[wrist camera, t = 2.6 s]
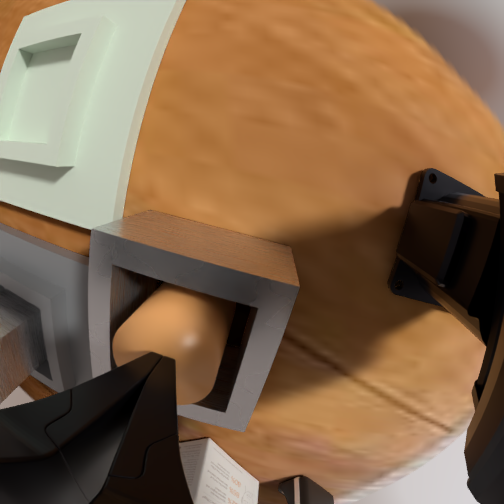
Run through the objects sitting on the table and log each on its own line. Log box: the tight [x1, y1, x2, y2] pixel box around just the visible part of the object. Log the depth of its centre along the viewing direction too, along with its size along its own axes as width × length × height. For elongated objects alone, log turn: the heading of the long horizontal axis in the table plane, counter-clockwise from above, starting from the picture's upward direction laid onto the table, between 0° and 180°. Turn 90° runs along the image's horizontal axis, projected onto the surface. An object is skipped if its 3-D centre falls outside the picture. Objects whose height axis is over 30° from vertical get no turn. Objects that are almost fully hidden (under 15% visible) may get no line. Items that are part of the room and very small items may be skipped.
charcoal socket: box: [0, 223, 93, 393], centre depth 15 cm, size 12×12×2 cm
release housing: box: [88, 210, 300, 432], centre depth 12 cm, size 7×7×5 cm
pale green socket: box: [0, 0, 186, 230], centre depth 11 cm, size 14×14×2 cm
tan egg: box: [112, 282, 236, 405], centre depth 11 cm, size 4×4×5 cm
